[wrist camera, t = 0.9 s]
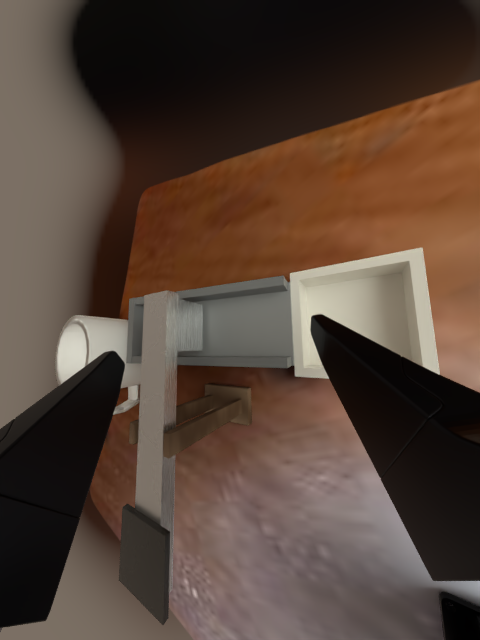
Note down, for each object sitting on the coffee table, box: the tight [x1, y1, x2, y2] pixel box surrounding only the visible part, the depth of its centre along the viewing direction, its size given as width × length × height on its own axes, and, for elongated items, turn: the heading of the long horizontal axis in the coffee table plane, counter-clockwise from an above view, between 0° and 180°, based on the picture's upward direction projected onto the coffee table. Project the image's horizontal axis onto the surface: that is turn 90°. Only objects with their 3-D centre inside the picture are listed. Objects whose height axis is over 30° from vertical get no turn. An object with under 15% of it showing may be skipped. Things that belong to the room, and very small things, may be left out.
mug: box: [55, 315, 141, 415], centre depth 29 cm, size 14×10×11 cm
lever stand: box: [129, 383, 252, 459], centre depth 20 cm, size 4×6×11 cm, turn 91°
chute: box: [126, 276, 294, 368], centre depth 22 cm, size 8×18×8 cm, turn 90°
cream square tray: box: [290, 248, 440, 379], centre depth 18 cm, size 10×10×4 cm
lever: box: [119, 290, 203, 625], centre depth 18 cm, size 22×5×6 cm, turn 1°
